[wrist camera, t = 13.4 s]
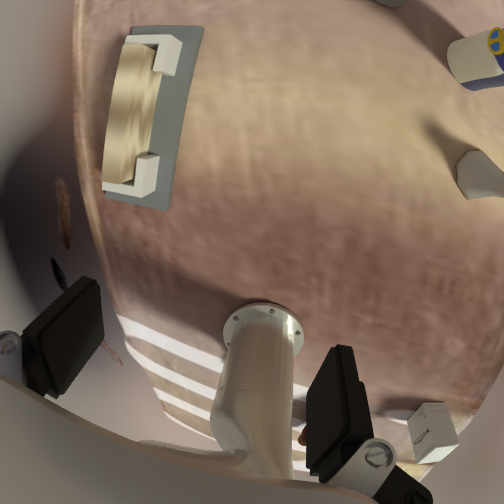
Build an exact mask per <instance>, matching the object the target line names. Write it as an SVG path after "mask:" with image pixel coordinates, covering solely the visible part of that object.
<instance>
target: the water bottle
mask: <svg viewBox="0 0 504 504" xmlns="http://www.w3.org/2000/svg"><path fill="white" fill-rule="evenodd" d="M447 61H448V65H449V68H450V70H451V72H452V74H453V76H454V77H455V78H456V80H457V81H458V82H459V83H460V84H461V85H462V86H464V87H465V88H467V89H469V90H472V91H479V90H483V89H488V88H494V87H504V29H501V28H499V27H495V28H493V29H492V30H488V31H484V32H481V33H479V34H476V35H473V36H470V37H467V38H463V39H460V40H456V41H454V42H452V43H451V44H450V45H449V47H448V50H447Z"/></svg>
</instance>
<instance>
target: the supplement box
mask: <svg viewBox="0 0 504 504" xmlns="http://www.w3.org/2000/svg"><path fill="white" fill-rule="evenodd" d="M407 424H408V428H409V432H410V436H411V440H412V444H413V449H414V453H415V458H416V462H417V464H423V463H430V462H436V461H440V460H442V459H443V458H444V457H445V456H446V455H448V454H449V453H450V452H451V451H452V450H453V449H454V448H456V447H457V446H458V445H459V440H458V437H457V434H456V431H455V428H454V425H453V422H452V420H451V417H450V414H449V411H448V409H447V406H446V403H444V402H443V403H442V402H440V403H437V402H436V403H434V402H432V403H427V402H426V403H422V405H421V406H420V407H419V408H418V410H417V411H416V412H415V413H414V414H413V415H412V416H411V417H410V418H409V419H408V421H407Z"/></svg>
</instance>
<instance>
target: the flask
mask: <svg viewBox="0 0 504 504" xmlns="http://www.w3.org/2000/svg"><path fill="white" fill-rule="evenodd" d="M456 167H457V185H458V186H459V188H460V189H461V191H462V193H463V194H464V196H465V197H466V199H476V198H484V197H491V196H496V197H503V198H504V172H503V171H501V170H500V168H499V167H498V166H497V165H496V164H495V163H494V162H493V161H492V160H491V159H490V158H489V157H488V156H487V155H486V154H485V153H484V152H483V151H467V153H466V154H465V155H464V156H463V157H462V158H461V159H460V161H459V162H458V163H457V164H456Z"/></svg>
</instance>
